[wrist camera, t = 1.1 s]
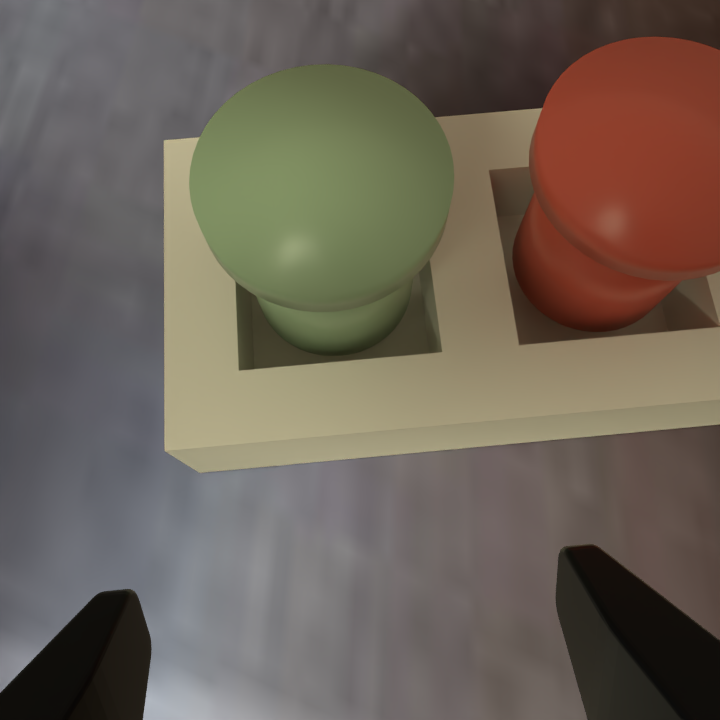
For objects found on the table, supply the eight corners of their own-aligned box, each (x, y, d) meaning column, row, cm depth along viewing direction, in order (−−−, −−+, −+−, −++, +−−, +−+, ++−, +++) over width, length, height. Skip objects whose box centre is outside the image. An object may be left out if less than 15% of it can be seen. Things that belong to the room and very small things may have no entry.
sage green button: (442, 365, 20) (471, 281, 14) (241, 384, 20) (190, 306, 14) (419, 190, 22) (436, 54, 16) (234, 206, 22) (187, 75, 16)
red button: (707, 341, 20) (840, 248, 15) (509, 359, 20) (564, 273, 14) (662, 169, 22) (764, 27, 16) (480, 185, 22) (518, 47, 16)
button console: (974, 400, 23) (1096, 364, 19) (199, 473, 22) (164, 450, 18) (877, 146, 26) (965, 72, 22) (194, 206, 25) (163, 140, 22)
